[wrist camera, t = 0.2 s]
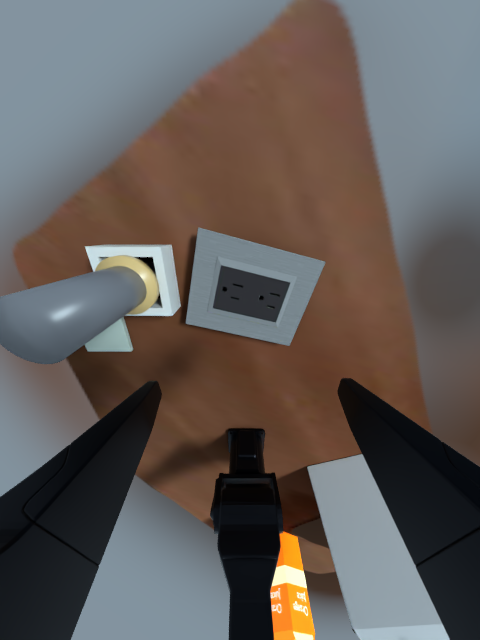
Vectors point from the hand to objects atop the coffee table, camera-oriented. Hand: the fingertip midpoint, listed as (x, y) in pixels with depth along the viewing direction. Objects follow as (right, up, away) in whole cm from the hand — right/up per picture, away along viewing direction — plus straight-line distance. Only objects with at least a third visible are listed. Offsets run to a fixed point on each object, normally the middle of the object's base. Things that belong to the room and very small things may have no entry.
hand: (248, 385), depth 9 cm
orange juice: (+11, -61, +45) cm, 77 cm away
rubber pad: (-18, +2, +15) cm, 24 cm away
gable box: (+24, -33, +32) cm, 52 cm away
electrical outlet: (+1, +7, +13) cm, 15 cm away
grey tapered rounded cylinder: (-11, +8, +12) cm, 18 cm away
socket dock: (-11, +8, +12) cm, 18 cm away
